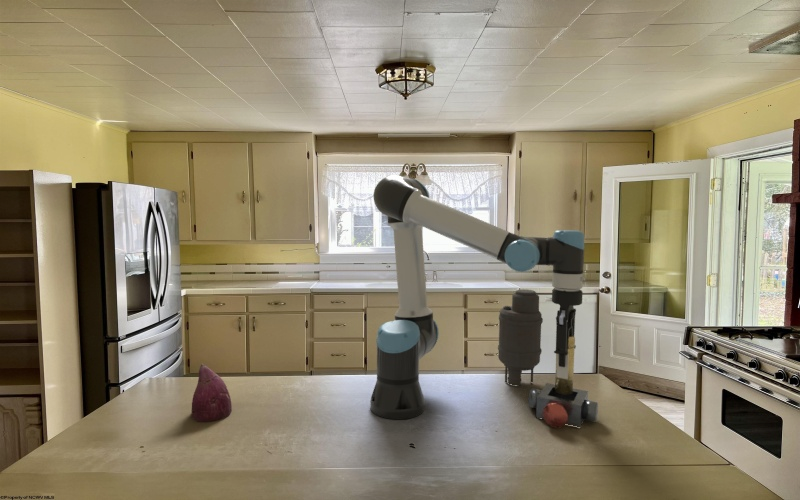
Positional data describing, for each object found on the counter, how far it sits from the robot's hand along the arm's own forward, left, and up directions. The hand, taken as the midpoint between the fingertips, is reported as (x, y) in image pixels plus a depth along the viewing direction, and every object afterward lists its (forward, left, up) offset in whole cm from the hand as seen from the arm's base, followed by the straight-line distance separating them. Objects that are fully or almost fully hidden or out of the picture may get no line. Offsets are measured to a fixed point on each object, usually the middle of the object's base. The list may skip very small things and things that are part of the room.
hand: (564, 374), depth 119 cm
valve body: (0, -2, -11) cm, 11 cm away
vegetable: (-80, -50, -12) cm, 95 cm away
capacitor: (-17, +17, -12) cm, 27 cm away
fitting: (0, 0, -5) cm, 5 cm away
